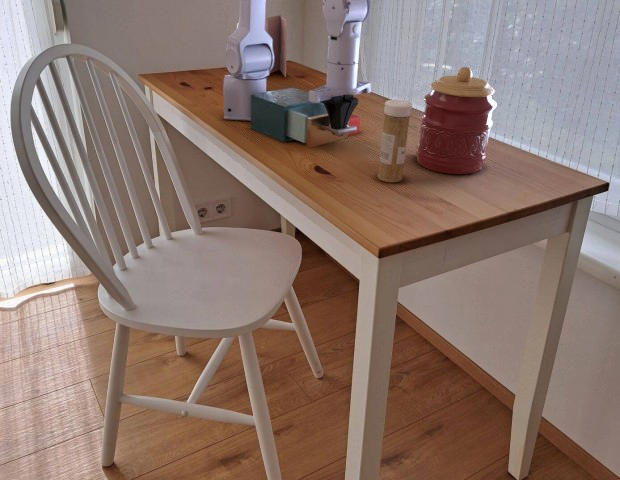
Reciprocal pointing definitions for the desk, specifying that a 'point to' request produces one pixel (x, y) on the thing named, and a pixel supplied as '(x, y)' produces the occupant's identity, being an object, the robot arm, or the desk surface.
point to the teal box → (275, 110)
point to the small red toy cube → (354, 123)
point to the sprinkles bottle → (394, 140)
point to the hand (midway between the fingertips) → (337, 134)
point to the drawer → (313, 125)
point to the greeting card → (278, 41)
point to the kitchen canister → (456, 124)
